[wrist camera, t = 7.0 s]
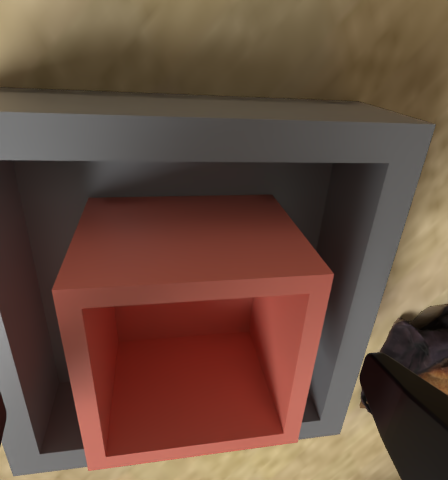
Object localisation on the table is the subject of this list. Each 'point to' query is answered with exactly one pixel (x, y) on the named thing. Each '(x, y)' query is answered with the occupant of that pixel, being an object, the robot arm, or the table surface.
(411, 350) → the bread roll
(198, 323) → the small crate
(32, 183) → the big crate
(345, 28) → the table surface
